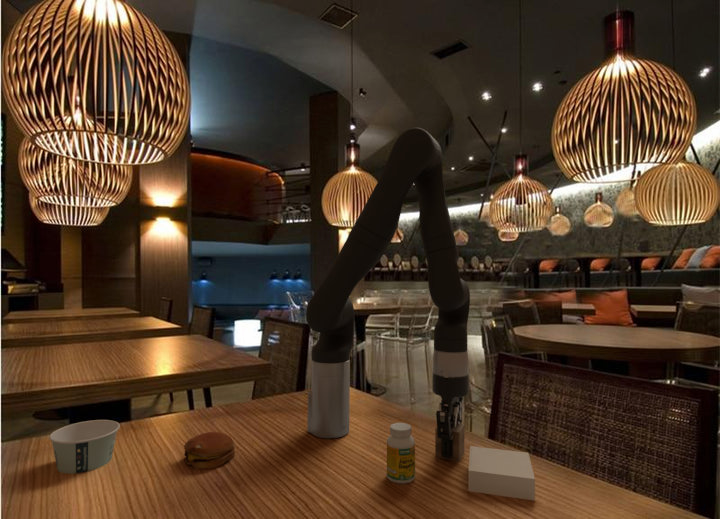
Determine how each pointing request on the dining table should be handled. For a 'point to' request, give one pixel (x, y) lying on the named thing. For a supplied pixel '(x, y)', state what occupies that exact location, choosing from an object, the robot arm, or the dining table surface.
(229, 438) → the burger
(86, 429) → the food container
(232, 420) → the dining table surface
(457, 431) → the walnut block
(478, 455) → the riser block
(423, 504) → the dining table surface
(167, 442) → the dining table surface
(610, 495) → the dining table surface
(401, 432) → the supplement bottle
